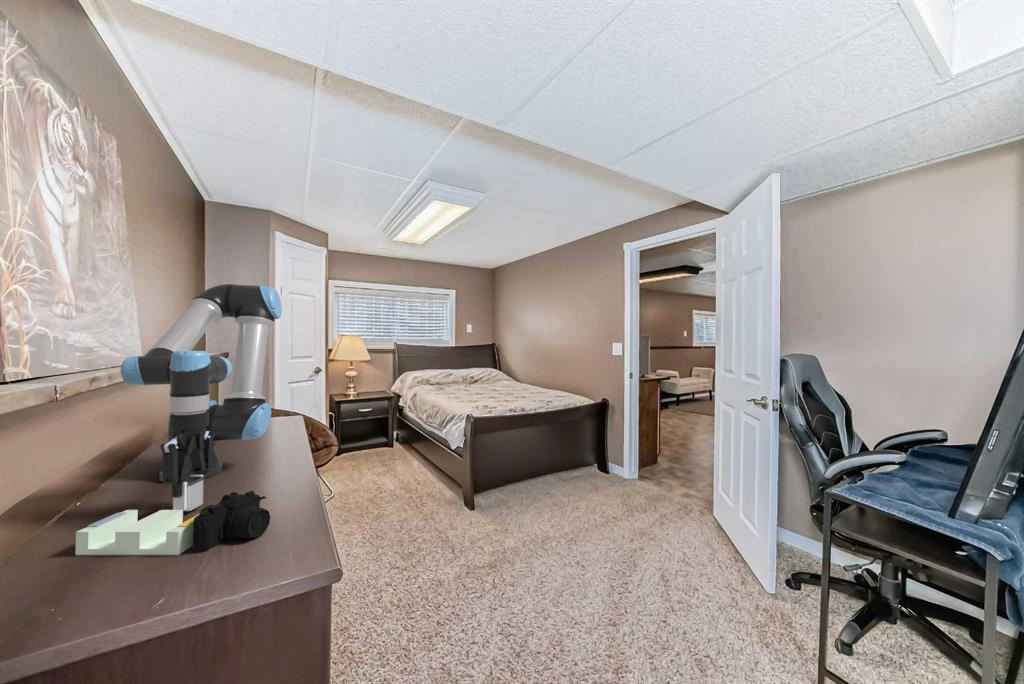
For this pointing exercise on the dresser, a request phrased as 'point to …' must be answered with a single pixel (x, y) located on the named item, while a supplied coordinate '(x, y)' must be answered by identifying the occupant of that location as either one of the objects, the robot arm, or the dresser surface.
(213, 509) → the film camera
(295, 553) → the dresser surface
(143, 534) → the socket block
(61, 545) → the dresser surface
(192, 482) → the plug
